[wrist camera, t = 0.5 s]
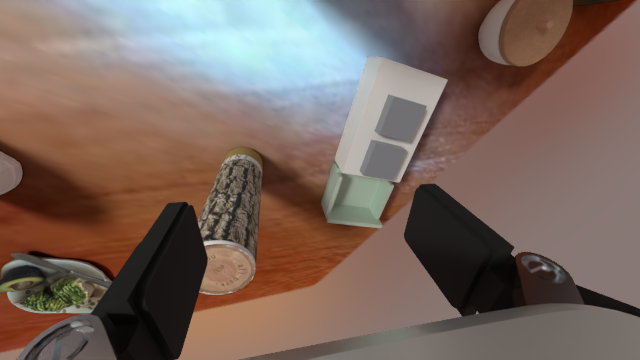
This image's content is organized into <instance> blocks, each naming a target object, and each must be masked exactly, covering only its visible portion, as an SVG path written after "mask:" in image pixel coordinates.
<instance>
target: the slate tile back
mask: <svg viewBox="0 0 640 360" xmlns="http://www.w3.org/2000/svg"><path fill="white" fill-rule="evenodd" d="M406 151H407V150H406V149H404V148H403V147H402V146H398V145H394V144H389V143H385V142H380V141H376V140H372V139H371V141H370V144H369V147H368V149H367V152H366V155H365V157H364V160H363V163H362V165H361V168H360V170H359V171H360V172H361V173H362V175H363V176H368V177H374V178H379V179H385V180H391V181H393V179H394V177H395V175H396V173H397V171H398V168H399V166H400V164H401V162H402V160H403V158H404V155H405V153H406Z"/></svg>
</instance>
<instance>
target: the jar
mask: <svg viewBox="0 0 640 360" xmlns="http://www.w3.org/2000/svg"><path fill="white" fill-rule="evenodd" d="M22 174H23V172H22V167H21V164H20V163H19V162H18V161H16V160H15V159H14V158H12V157H10V156H8V155H6V154H4V153H3V152H1V151H0V195H1V194H4V193H6V192H8V191H10V190H12V189H13V188H15V187H16V186H17V185H18V184H19V183H20V181H21V179H22Z"/></svg>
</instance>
